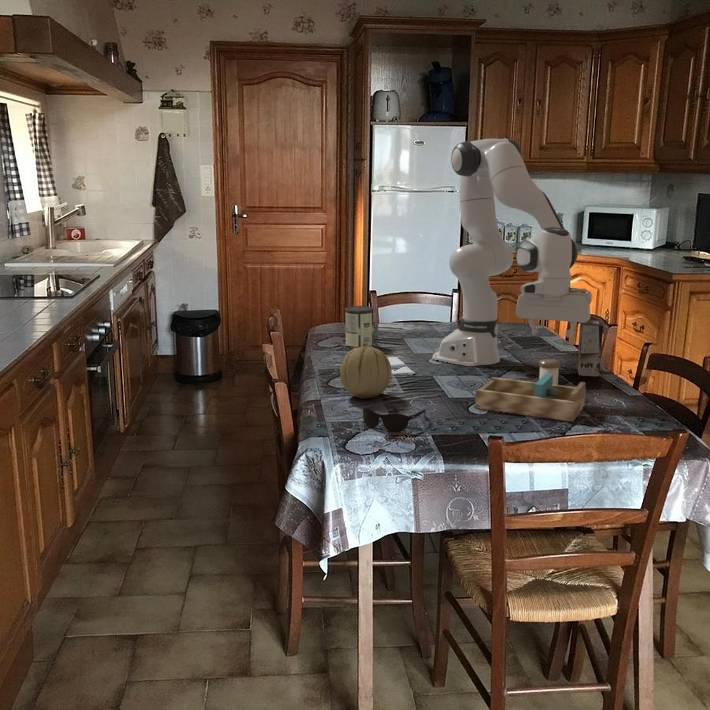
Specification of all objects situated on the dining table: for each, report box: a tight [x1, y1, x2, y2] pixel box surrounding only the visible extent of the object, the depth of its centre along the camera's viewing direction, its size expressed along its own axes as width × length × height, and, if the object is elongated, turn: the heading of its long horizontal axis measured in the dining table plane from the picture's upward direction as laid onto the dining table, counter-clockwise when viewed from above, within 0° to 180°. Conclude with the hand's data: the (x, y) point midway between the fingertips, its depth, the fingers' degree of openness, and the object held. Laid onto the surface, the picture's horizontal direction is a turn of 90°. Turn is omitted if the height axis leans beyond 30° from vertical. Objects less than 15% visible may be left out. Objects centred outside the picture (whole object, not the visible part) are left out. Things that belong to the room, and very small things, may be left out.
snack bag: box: [386, 356, 417, 374], centre depth 252 cm, size 19×20×2 cm
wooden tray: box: [474, 376, 587, 422], centre depth 211 cm, size 26×15×7 cm, turn 63°
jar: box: [538, 358, 561, 385], centre depth 225 cm, size 6×6×9 cm
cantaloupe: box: [339, 343, 393, 399], centre depth 220 cm, size 15×15×15 cm
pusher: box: [534, 374, 559, 399], centre depth 209 cm, size 5×12×7 cm, turn 153°
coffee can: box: [344, 305, 375, 347], centre depth 282 cm, size 10×10×14 cm
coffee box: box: [576, 319, 604, 377], centre depth 245 cm, size 9×6×16 cm
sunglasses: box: [362, 402, 426, 433], centre depth 200 cm, size 14×16×5 cm
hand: (551, 335), depth 221 cm, fingers open, 8 cm apart
